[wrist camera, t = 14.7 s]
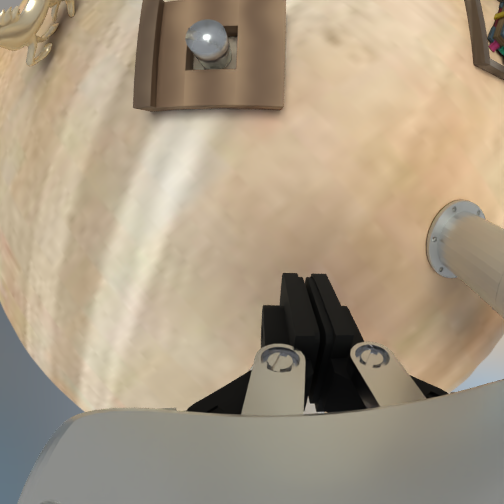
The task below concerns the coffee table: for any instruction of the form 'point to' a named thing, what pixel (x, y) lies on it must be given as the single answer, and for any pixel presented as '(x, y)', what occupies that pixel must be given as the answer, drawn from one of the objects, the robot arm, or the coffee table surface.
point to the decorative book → (498, 31)
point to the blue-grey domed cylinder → (209, 44)
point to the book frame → (481, 39)
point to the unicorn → (30, 27)
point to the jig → (212, 80)
